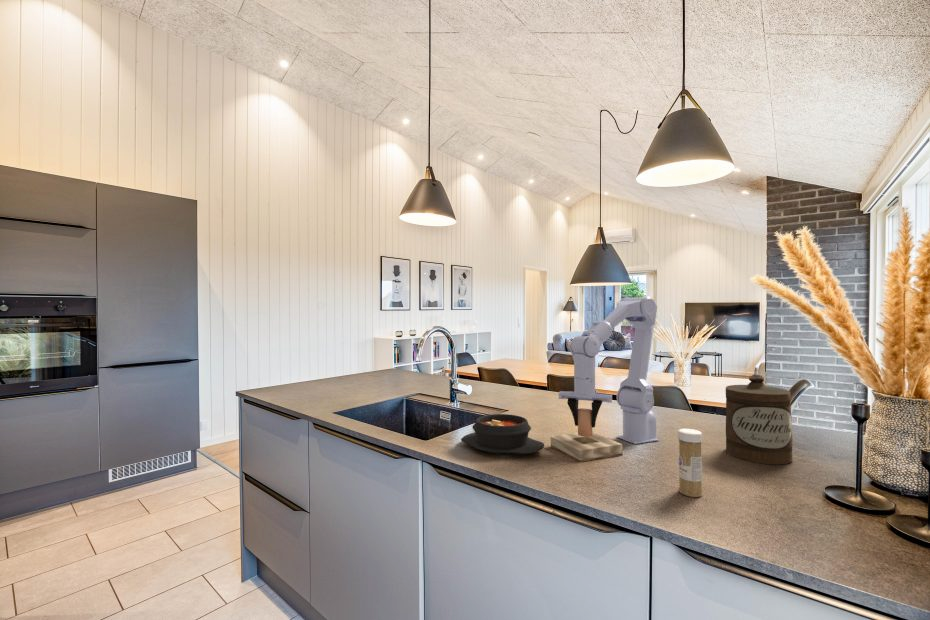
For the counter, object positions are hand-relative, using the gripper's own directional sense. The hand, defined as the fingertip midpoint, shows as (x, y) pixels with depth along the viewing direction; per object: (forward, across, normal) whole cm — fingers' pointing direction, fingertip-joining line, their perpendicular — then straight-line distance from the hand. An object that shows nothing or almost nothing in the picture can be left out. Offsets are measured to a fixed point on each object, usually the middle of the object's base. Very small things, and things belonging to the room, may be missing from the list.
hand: (585, 425), depth 118 cm
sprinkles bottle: (+7, +25, -20) cm, 33 cm away
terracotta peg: (+2, 0, 0) cm, 2 cm away
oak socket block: (+7, 0, 0) cm, 7 cm away
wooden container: (+7, +44, +14) cm, 47 cm away
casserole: (+7, -23, -7) cm, 25 cm away
